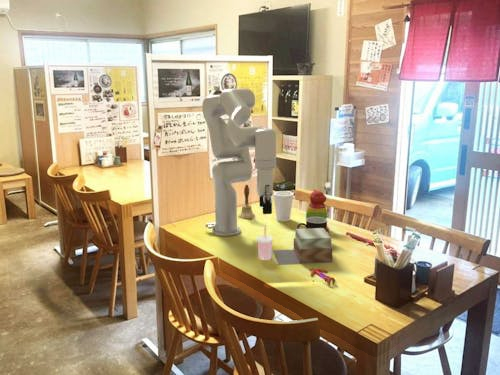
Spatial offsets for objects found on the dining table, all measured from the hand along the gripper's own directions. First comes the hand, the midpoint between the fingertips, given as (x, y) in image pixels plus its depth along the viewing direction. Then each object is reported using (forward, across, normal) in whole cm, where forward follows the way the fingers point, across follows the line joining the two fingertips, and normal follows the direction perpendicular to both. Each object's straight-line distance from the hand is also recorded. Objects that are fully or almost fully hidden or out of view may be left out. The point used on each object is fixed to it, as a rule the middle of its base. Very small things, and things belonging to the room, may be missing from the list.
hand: (265, 210), depth 164 cm
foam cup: (+20, -49, +15) cm, 55 cm away
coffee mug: (+20, -17, +22) cm, 34 cm away
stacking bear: (+20, -34, +28) cm, 48 cm away
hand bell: (+20, -56, -2) cm, 60 cm away
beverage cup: (+20, 0, 0) cm, 20 cm away
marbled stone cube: (+19, 0, +18) cm, 26 cm away
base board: (+20, 0, +14) cm, 24 cm away
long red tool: (+20, -14, +44) cm, 51 cm away
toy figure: (+21, +17, +17) cm, 31 cm away
